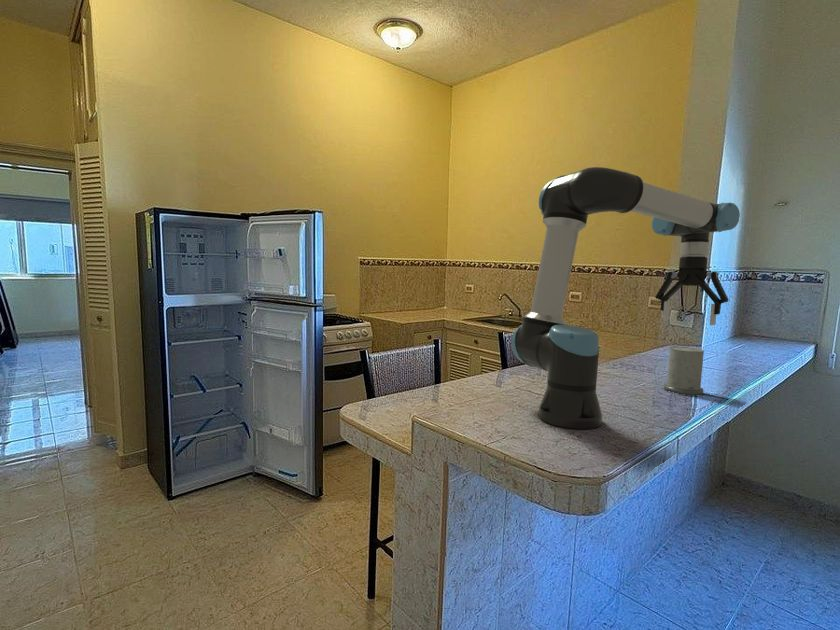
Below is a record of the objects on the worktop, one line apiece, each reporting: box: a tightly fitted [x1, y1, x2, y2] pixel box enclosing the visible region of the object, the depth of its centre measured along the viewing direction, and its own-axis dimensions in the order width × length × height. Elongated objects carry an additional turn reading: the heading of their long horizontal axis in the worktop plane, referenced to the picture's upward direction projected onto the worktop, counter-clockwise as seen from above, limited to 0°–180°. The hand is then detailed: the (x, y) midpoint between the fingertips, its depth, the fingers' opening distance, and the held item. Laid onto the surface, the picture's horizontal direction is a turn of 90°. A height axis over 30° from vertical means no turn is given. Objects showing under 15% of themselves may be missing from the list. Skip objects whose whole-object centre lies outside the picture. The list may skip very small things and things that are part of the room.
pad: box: [663, 382, 704, 396], centre depth 142 cm, size 11×11×2 cm
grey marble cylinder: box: [666, 346, 705, 390], centre depth 142 cm, size 10×10×12 cm
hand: (688, 322), depth 140 cm, fingers open, 13 cm apart
